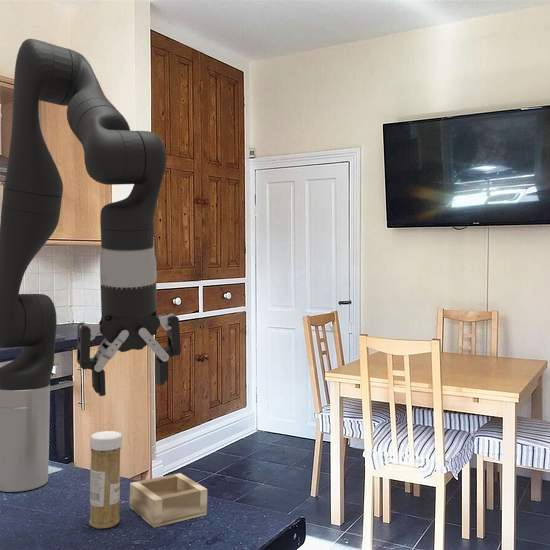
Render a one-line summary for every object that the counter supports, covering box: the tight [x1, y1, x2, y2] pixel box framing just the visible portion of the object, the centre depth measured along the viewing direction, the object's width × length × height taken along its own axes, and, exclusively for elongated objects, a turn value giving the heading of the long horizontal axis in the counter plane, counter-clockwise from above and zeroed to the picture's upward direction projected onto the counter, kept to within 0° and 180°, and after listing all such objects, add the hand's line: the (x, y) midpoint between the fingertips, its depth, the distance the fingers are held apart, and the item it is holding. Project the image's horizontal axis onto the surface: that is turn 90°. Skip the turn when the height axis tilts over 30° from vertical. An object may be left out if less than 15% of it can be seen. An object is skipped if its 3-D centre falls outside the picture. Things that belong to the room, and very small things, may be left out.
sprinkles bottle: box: [88, 430, 123, 529], centre depth 93 cm, size 5×5×14 cm
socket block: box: [129, 472, 208, 529], centre depth 98 cm, size 9×9×4 cm
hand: (131, 388), depth 89 cm, fingers open, 8 cm apart
